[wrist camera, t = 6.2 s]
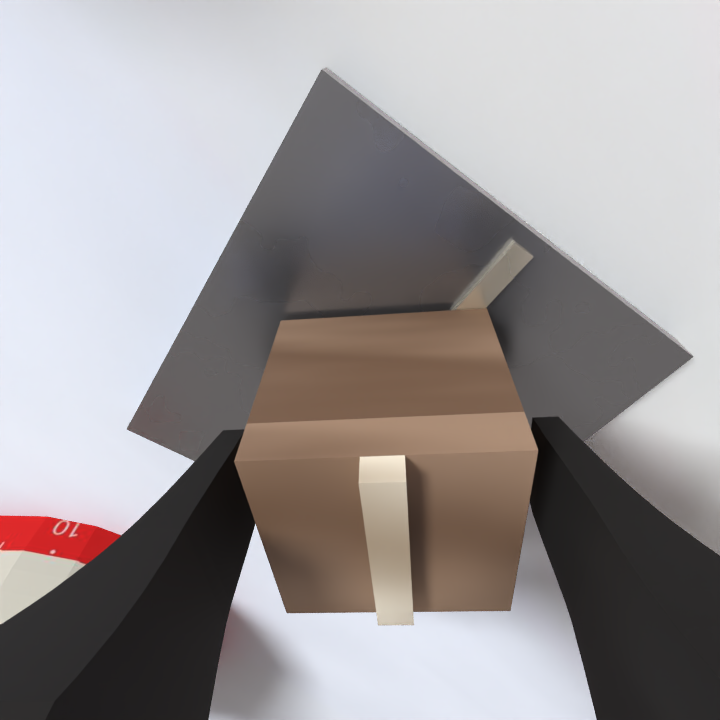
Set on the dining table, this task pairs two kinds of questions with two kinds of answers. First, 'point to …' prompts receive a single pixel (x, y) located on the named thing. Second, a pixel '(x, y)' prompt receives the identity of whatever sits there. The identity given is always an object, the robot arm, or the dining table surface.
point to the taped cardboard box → (389, 465)
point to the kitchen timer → (42, 557)
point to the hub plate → (394, 280)
